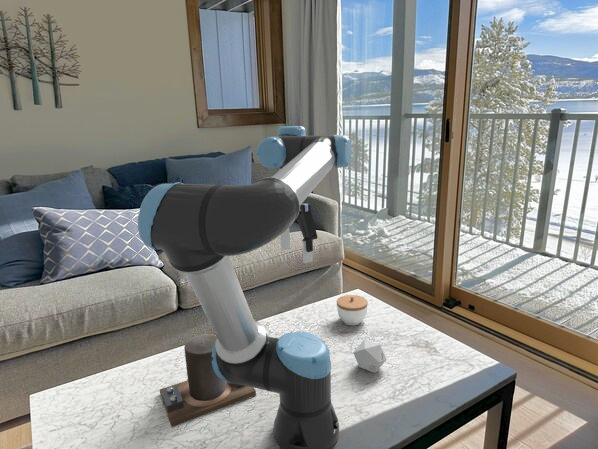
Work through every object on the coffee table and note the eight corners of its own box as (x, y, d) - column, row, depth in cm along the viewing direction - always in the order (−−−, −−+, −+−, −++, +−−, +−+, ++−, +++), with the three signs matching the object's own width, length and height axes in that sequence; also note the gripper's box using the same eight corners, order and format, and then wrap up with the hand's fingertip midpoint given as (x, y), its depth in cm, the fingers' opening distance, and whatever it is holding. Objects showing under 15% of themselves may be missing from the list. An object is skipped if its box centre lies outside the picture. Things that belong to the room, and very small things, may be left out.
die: (362, 382, 114) (384, 358, 111) (342, 357, 118) (363, 334, 115) (375, 377, 120) (396, 355, 117) (356, 353, 125) (376, 331, 122)
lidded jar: (351, 311, 153) (351, 287, 150) (373, 321, 145) (374, 297, 142) (330, 320, 146) (330, 296, 144) (352, 332, 138) (352, 306, 136)
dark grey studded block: (250, 383, 111) (250, 374, 111) (167, 413, 101) (166, 403, 100) (241, 370, 117) (240, 361, 117) (162, 397, 107) (160, 387, 106)
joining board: (256, 395, 109) (255, 389, 108) (171, 427, 99) (170, 420, 98) (237, 368, 121) (236, 363, 120) (160, 394, 110) (159, 388, 110)
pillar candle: (189, 404, 103) (183, 352, 99) (188, 381, 112) (183, 332, 108) (228, 396, 106) (224, 345, 102) (224, 374, 115) (220, 326, 111)
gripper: (329, 187, 105) (330, 265, 111) (285, 176, 127) (288, 242, 132) (304, 191, 102) (306, 271, 108) (263, 179, 123) (266, 246, 129)
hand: (296, 255), depth 120 cm, fingers open, 13 cm apart
